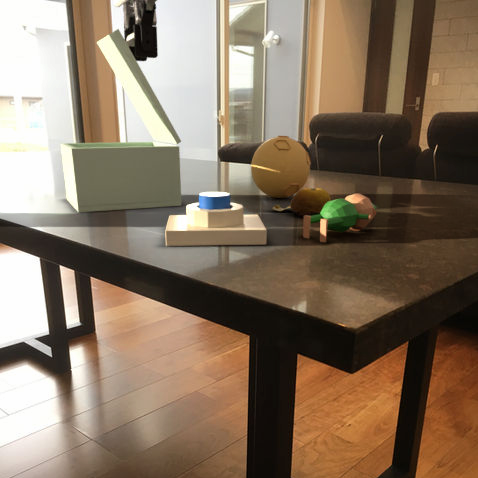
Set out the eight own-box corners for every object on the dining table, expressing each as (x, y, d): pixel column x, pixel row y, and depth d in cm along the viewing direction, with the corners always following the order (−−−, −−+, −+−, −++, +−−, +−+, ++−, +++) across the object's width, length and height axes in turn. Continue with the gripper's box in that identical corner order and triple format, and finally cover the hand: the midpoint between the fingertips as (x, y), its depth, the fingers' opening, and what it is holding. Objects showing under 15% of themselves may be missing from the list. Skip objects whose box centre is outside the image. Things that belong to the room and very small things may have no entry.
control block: (165, 246, 56) (164, 213, 55) (169, 228, 65) (168, 200, 63) (266, 244, 57) (267, 212, 56) (257, 227, 65) (258, 199, 64)
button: (199, 212, 58) (198, 196, 57) (199, 207, 61) (198, 191, 61) (231, 212, 58) (231, 196, 57) (229, 206, 61) (229, 191, 61)
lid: (113, 31, 69) (143, 13, 69) (96, 42, 79) (122, 26, 80) (177, 144, 77) (203, 127, 78) (154, 140, 88) (177, 125, 88)
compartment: (78, 212, 75) (71, 148, 71) (66, 199, 85) (60, 143, 82) (181, 205, 81) (179, 146, 77) (158, 194, 91) (156, 141, 88)
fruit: (317, 206, 80) (319, 182, 79) (347, 216, 73) (349, 189, 71) (269, 210, 77) (269, 185, 76) (294, 220, 70) (296, 192, 69)
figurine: (292, 236, 62) (354, 222, 69) (338, 245, 57) (400, 229, 64) (292, 198, 60) (356, 187, 67) (340, 204, 55) (403, 192, 62)
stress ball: (259, 203, 83) (260, 137, 79) (244, 194, 92) (245, 134, 88) (317, 201, 85) (321, 136, 81) (297, 192, 94) (300, 134, 90)
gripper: (94, -76, 76) (104, 62, 83) (120, -120, 62) (129, 52, 68) (145, -68, 79) (150, 64, 86) (180, -108, 64) (183, 55, 71)
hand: (141, 57), depth 77 cm, fingers closed on lid, 5 cm apart
